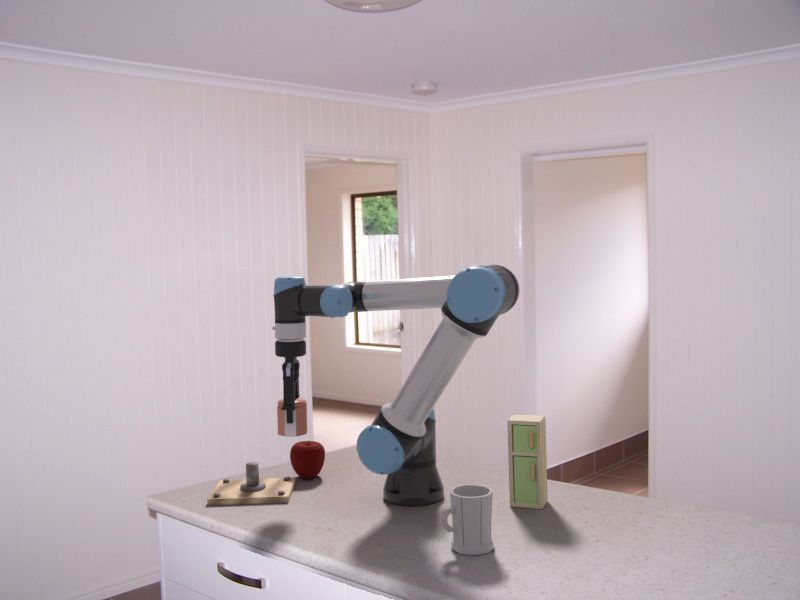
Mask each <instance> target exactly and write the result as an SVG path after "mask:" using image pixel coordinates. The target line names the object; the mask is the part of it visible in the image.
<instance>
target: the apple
mask: <svg viewBox="0 0 800 600" xmlns="http://www.w3.org/2000/svg"><path fill="white" fill-rule="evenodd" d="M289 459H290V460H289V461H290V465H291V466H292V467H291V468H292V469H293V471H294V472H295V473H296V475H297V476H299V477H300V478H302V479H314V478H316V477H318V475H319V474H320V473H321V471H322V470H323V467H324V463H325V460H326V450H325V447H324V445H323V443H320V442H318V441H313V440H303V441H297V442H295V443H294V444H293V445H292V447H291V448H290V452H289Z"/></svg>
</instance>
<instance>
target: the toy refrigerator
mask: <svg viewBox="0 0 800 600" xmlns="http://www.w3.org/2000/svg"><path fill="white" fill-rule="evenodd" d="M546 424H547V423H546V415H540V414H539V415H538V414H518V413H517V414H512V415H511V416H510V417H509V418H508V419H507V450H508V451H507V452H508V484H509V487H508V488H509V489H508V490H509V507H511V508H522V509H534V510H542V509H544V507H545V505H546V504H547V502H548V497H549V496H548V470H547V469H548V467H547V466H548V465H547V463H548V461H547V431H546V430H547V429H546V427H547V426H546Z"/></svg>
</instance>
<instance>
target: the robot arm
mask: <svg viewBox="0 0 800 600" xmlns="http://www.w3.org/2000/svg"><path fill="white" fill-rule="evenodd" d="M273 284H274V285H273V286H274V287H273V294H272V295H273V302H274V305H273V306H274V326H272V330H273V331H274V339H276V340H275V342H274V346H275V347H274V354H275V355H276V357H278V358H284V362H283V364H281V365H282V366H281V371H282V381H283V382H282V383H283V385H282V386H283V387H282V388H283V394H282V395H283V397H282V398H283V407H281V410H284V420H285V436H291V437H297V436H296V409H295V398H300V381H299V378H300V366H301V365H300V361H299V359H298V358H299V357H304V356H305V355H306V354H307V341H306V338H307V322H306V318H307V317H325V318H331V319H334V318H345V317H347V316H348V315H349V313H359V312H360V313H362V312H376V311H377V312H380V311H383V312H384V311H402V310H405V311H406V310H425V309H427V310H428V309H440V312H441V316H442V320H441V321H440V322H439V324H438V326H437V327H436V329H435V331H434V333H432V336H431V338H430V339H429V341H428V343H427V344H426V346H425V348H424V349H423V351H422V353H421V354H420V356H419V358H418V359H417V361H416V363H415V364H414V366H413V367H412V368H411V370H410V372H409V375H408V376H407V378H406V380H405V381H404V383H403V384H402V386H401V388H400V390H398V393H397V394H396V395H395V398H394V399H393V401H392V402H388V403H385V404H383V405H382V406H381V408H380V410H379V412H378V413H377V415H376V416H375V418H374V420H373V421H372V423H371V424H370V425H367V426H366V427H365V428H364V429H363V430H362V431H361V432H360V433H359V435H358V436H357V439H356V452H357V455H358V458H359V460H360V462H361V463H362V465H363V466H364V467H365V468H366V469H367V470H369V471H370V472H372V473H374V474H377V475H386V478H385V481H384V484H383V488H382V489H383V491H382V492H383V495H382V497H383V499H384V501H386V502H387V503H390V504H393V505H397V506H398V505H399V506H406V507H407V506H410V507H414V506H415V507H416V506H427V505H430V504H431V505H432V504H434V503H437V502H440V501H441V500H442V499H443V498H444V497H445V489H444V488H445V487H444V483H443V481H442V479H441V476H440V472H439V470H438V467H437V443H436V441H437V440H436V439H437V438H436V436H437V434H436V422H437V420H436V415H435V414H436V413H435V409H434V407H435V405H436V404H437V402H438V401H439V399H440V398H441V396H442V394H443V393H444V392H445V390H446V388H447V386H448V385H449V383H450V381H451V380H452V379H453V377H454V376H455V373H456V372H457V370H458V369H459V367H460V365H461V364H462V363H463V361H464V359H465V358H466V356H467V354H468V353H469V351H470V349H471V348H472V346H473V345H474V343H475V341H476V340H477V339H480V338H485V337H487V335H488V334H489V332H490V330H492V327H493V326H494V324H495V322H496V321H497V319H498V318H499V317H500V316H501V315H503V314H506V313H508V312H509V311H510V310H512V309H513V308H514V307H515V305H516V304H517V301H518V300H519V297H520V285H519V284H520V283H519V281H518V279H517V277H516V275H515V274H514V273H513V272H512V270H511V269H508V268H507V267H506V266H503V265H499V264H486V265H481V264H480V265H473V266H468V267H465V268H464V269H463V270H460V271H459V272H458V273H456V274H455V275H445V276H430V277H429V276H428V277H413V278H401V279H385V280H384V279H383V280H381V279H380V280H369V281H350V282H343V283H334V284H327V285H326V284H325V285H321V284H320V285H314V284H313V285H311V284H306V279H305V277H303V276H295V275H294V276H292V275H291V276H289V275H288V276H278V277H276V278H275V279H274V283H273ZM287 403H291V404H287ZM285 436H284V437H285Z"/></svg>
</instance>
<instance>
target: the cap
mask: <svg viewBox="0 0 800 600" xmlns="http://www.w3.org/2000/svg"><path fill="white" fill-rule="evenodd" d="M287 404H291V403H287ZM281 407H283V399H279V400H277V406H276V413H277V436H281V437H292V436H285V420H284V410H281ZM295 409H296V436H295V437H301V436H305V435H307V434H308V431H309V430H308V403H307V399H306V398H302V397H299V398H295Z"/></svg>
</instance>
